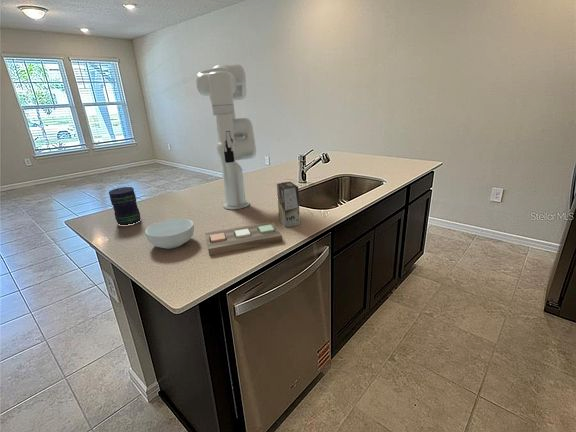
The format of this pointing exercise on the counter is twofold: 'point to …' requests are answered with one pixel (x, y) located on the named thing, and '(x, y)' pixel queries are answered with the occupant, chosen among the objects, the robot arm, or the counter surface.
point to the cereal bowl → (170, 233)
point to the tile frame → (242, 239)
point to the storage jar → (125, 205)
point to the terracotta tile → (217, 237)
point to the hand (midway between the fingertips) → (229, 161)
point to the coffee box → (288, 204)
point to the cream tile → (242, 233)
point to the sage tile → (265, 229)
